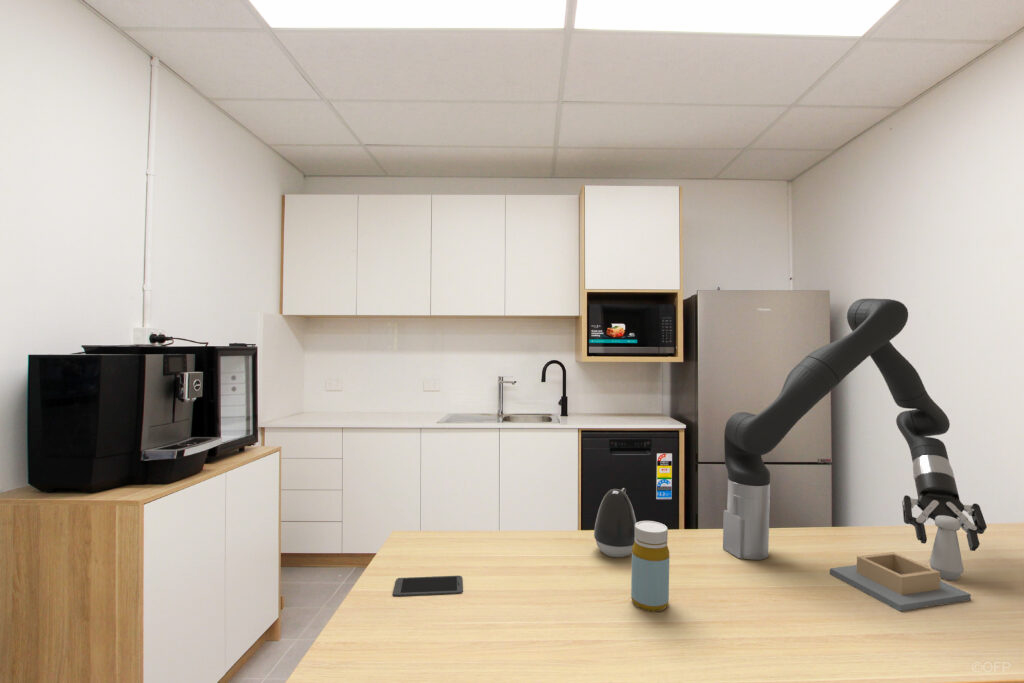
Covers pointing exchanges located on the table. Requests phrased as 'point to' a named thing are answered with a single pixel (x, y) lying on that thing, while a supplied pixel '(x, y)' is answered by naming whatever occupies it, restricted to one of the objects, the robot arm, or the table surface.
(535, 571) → the table surface
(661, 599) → the bottle
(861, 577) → the holder
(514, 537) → the table surface
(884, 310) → the robot arm
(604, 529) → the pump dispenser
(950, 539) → the salt shaker
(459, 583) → the cell phone
